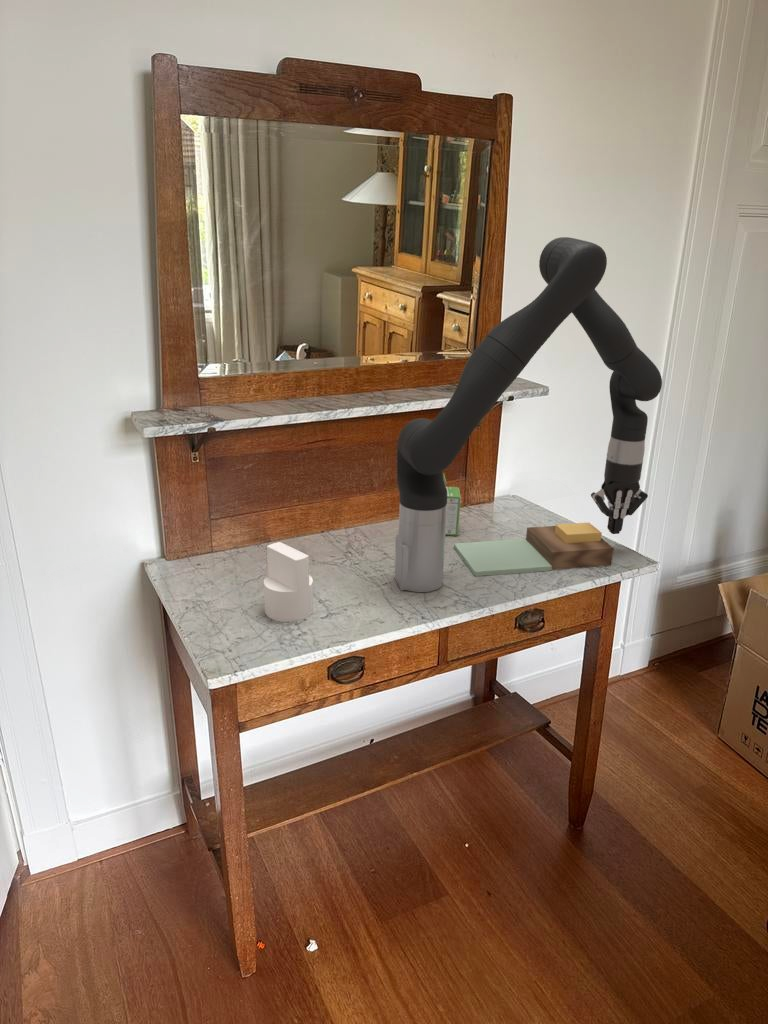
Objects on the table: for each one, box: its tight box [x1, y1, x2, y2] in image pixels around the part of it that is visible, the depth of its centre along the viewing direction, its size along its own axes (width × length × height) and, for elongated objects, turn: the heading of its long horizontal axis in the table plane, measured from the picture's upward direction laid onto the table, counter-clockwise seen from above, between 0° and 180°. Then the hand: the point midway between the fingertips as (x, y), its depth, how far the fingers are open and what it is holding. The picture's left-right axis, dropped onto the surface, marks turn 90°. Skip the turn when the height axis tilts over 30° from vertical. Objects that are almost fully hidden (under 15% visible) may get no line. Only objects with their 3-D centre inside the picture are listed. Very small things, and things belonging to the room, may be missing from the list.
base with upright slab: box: [263, 541, 314, 623], centre depth 139 cm, size 9×9×12 cm
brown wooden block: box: [525, 525, 614, 570], centre depth 167 cm, size 14×14×4 cm
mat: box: [453, 538, 553, 577], centre depth 164 cm, size 17×15×1 cm
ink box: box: [442, 472, 462, 537], centre depth 177 cm, size 7×4×13 cm, turn 179°
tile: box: [555, 522, 603, 543], centre depth 166 cm, size 8×6×2 cm
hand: (614, 532), depth 168 cm, fingers closed
